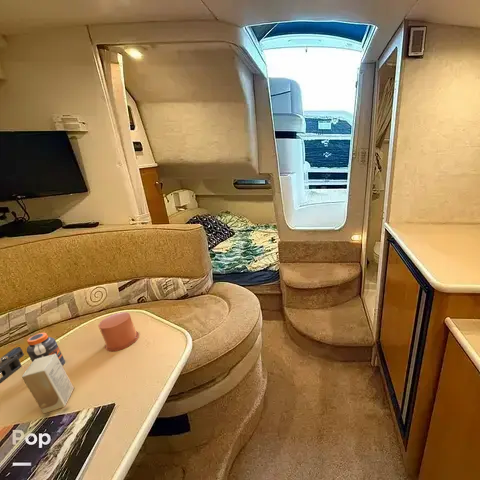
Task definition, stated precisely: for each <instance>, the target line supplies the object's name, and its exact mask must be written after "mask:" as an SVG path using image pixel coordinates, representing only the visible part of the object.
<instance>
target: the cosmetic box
mask: <svg viewBox="0 0 480 480" xmlns="http://www.w3.org/2000/svg"><path fill="white" fill-rule="evenodd" d="M21 378H22V380H23V382H24V383H25V385H26V387H27V389H28V390H29V392H30V393H31V396H33V398H34V400H35V402H36V403H37V405H38V407H39V408H40V410H41V412H42V413H43V414H46V413H47V414H48V413H49V412H50V413H51V412H53V411H56V410H59V409H62V408H65V407H66V405H67V403H68V401H69V400H70V398H71V396H72V392H73V391H74V389H75V388H74V386H73V383H72V382H71V380H70V377H69V375H68V374H67V372H66V370H65V368H64V365H63V366H62V364H61V362H60V360H59V359H58V357H57V355H56V354H52V355H49V356H45V357H41V358H38V359H35V360H34V361H33V362H32V361H31V364H30V365H29V366H28V367H27V369H26V370H25V372H24V373H23V374H22V376H21Z"/></svg>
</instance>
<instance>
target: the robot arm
mask: <svg viewBox="0 0 480 480" xmlns="http://www.w3.org/2000/svg"><path fill="white" fill-rule="evenodd" d="M24 355H25V353H24V351H23V349H22V348H21V347H20V346H17V347H14V348H11V350H9V351H8V352H7V353H5V354H4V355H2V356H1V357H0V384H2V383H3V382H5V381H6V380H7V379H8V378H10V377H11V376H12V375H13V374H14V373H16V372H17V371H18V370H20V369H21V368H22V366H23V365H22V363H21V360H20V359H21V358H23V357H24Z"/></svg>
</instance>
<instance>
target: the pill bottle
mask: <svg viewBox="0 0 480 480" xmlns="http://www.w3.org/2000/svg"><path fill="white" fill-rule="evenodd" d="M26 342H27V344H28V346H27V347H26V353H27V355H28V356H29V359H30V360H31V363H32V362H33V361H34V360H35V359H38V358H41V357H45V356H49V355H52V354H56V355H57V357H58V359H59V360H60V362H61V364H62V366H63V367H64V364H65V363H66V360H65V358H64V356H63V354H62V351H61V349H60V347H59V345H58V343H57V341H56V339H55V337H51V336H49V335H48V334H47V332H39V333H36V334H34V335H32V336H30V337H29V338H28V339H26Z"/></svg>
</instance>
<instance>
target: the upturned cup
mask: <svg viewBox="0 0 480 480" xmlns="http://www.w3.org/2000/svg"><path fill="white" fill-rule="evenodd" d="M97 326H98V329H99V331H100V334H101V336H102V339H103V341H104V343H105V345H104V348H105V350H106V351H107V352H111V353H112V352H118V351H122V350H124V349H127V348H129V347H131V346H132V345H133V344H135V343H136V342H137V341H138V339H139V337H140V333H139V332H138V331H137V330H136V327H135V325H134V322H133V318H132V316H131V314H130V313H129V312H127V311H122V312H118V313H114V314H111V315H109V316H107V317H105V318H103V319H102V320H100V322H99V323H98V325H97Z"/></svg>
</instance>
